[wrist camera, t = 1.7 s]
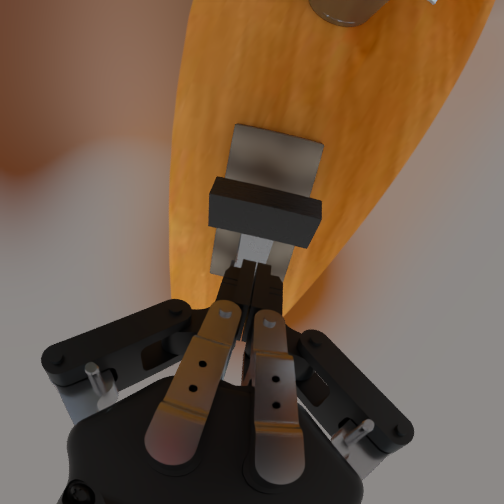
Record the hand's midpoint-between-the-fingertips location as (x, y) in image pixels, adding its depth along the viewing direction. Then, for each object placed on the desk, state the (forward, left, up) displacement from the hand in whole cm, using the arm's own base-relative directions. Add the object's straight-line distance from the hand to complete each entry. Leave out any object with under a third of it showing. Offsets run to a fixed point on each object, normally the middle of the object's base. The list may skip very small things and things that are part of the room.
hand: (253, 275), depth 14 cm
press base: (+6, 0, -27) cm, 27 cm away
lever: (+7, 0, -16) cm, 17 cm away
